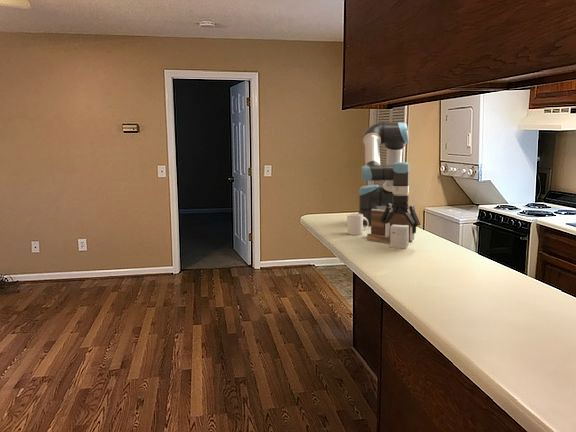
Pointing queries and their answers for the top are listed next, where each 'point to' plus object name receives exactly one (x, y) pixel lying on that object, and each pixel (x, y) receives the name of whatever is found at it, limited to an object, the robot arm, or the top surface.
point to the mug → (355, 224)
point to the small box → (399, 236)
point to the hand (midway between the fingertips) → (399, 238)
